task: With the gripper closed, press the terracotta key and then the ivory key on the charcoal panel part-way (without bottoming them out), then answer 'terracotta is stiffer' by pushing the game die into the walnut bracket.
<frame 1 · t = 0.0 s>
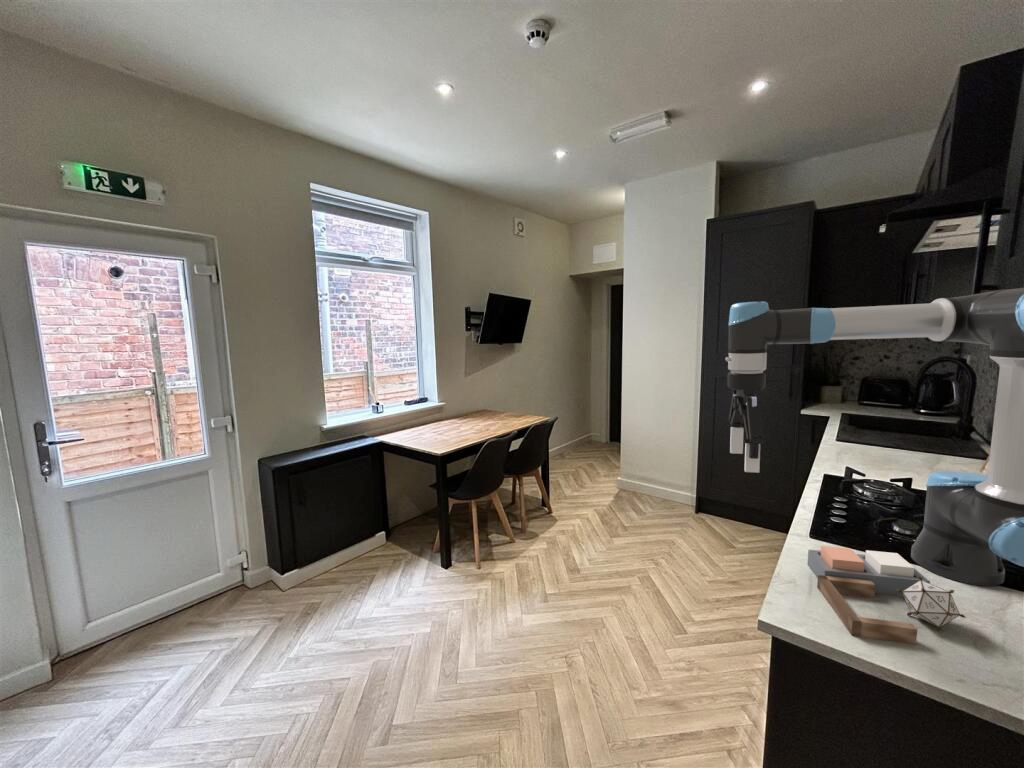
hand: (743, 461, 95), 28 cm above the countertop, fingers open, 13 cm apart
game die: (928, 622, 81), on the countertop
key panel: (863, 580, 94), on the countertop
walnut bracket: (861, 612, 84), on the countertop
ivory key: (888, 564, 92), point 4 cm above the countertop, slide at 0.3 cm
terracotta key: (841, 559, 95), point 5 cm above the countertop, slide at 0.2 cm
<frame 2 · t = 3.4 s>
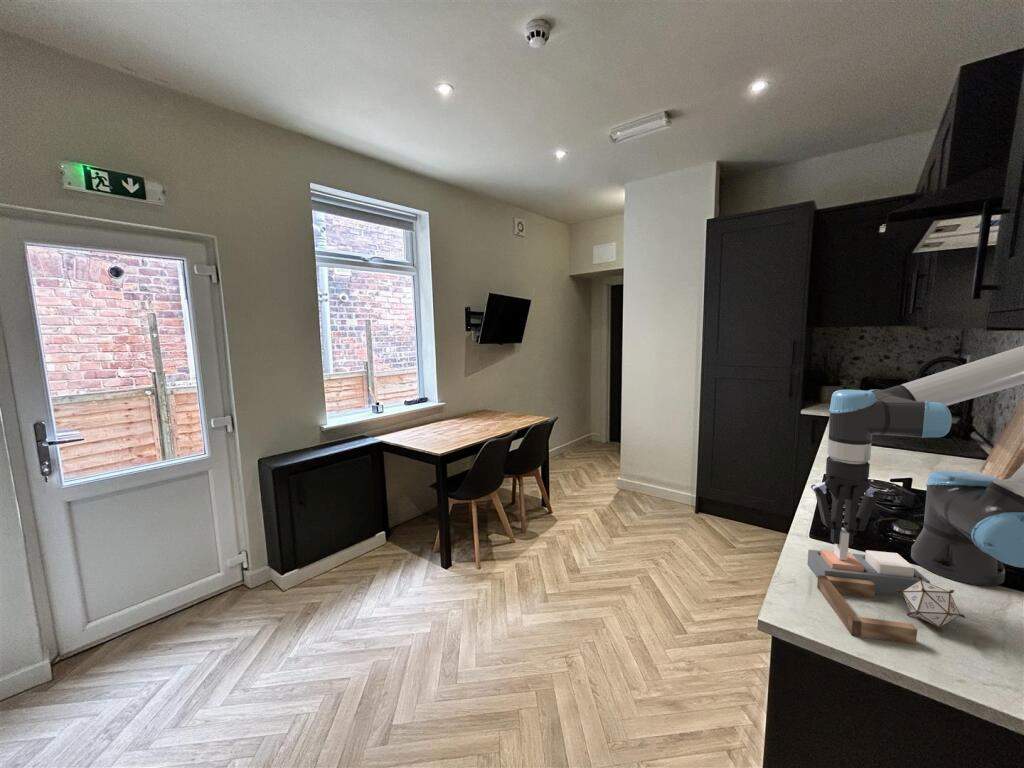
hand: (840, 556, 95), 5 cm above the countertop, fingers closed
terracotta key: (841, 563, 95), point 4 cm above the countertop, slide at 1.1 cm, touching gripper
everything else where it was.
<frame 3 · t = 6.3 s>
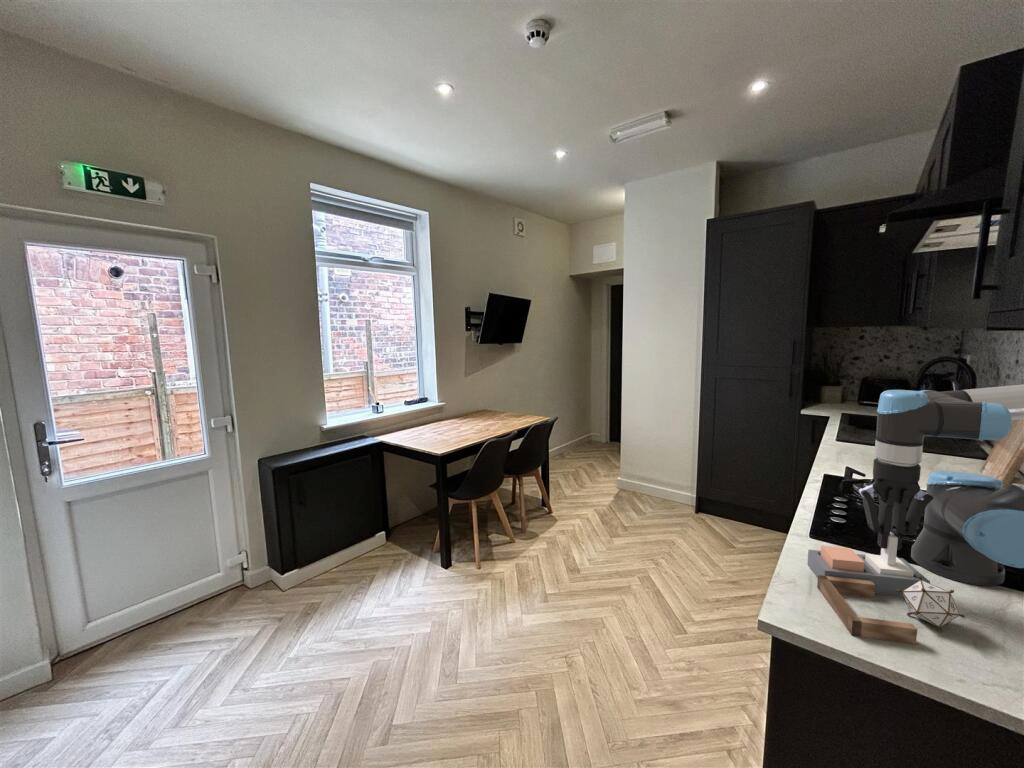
hand: (887, 561, 92), 5 cm above the countertop, fingers closed
ivory key: (888, 568, 92), point 3 cm above the countertop, slide at 1.2 cm, touching gripper
terracotta key: (841, 559, 95), point 5 cm above the countertop, slide at 0.1 cm
everything else where it was.
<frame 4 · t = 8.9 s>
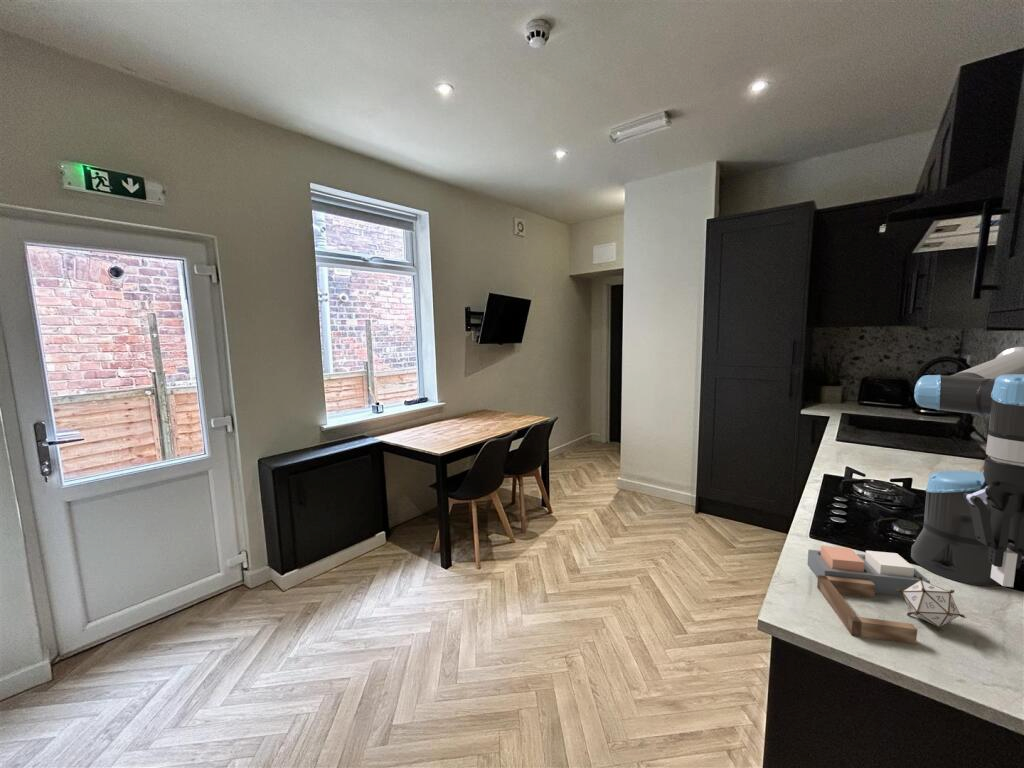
hand: (1001, 582, 76), 10 cm above the countertop, fingers closed
ivory key: (888, 565, 92), point 4 cm above the countertop, slide at 0.3 cm
everything else where it was.
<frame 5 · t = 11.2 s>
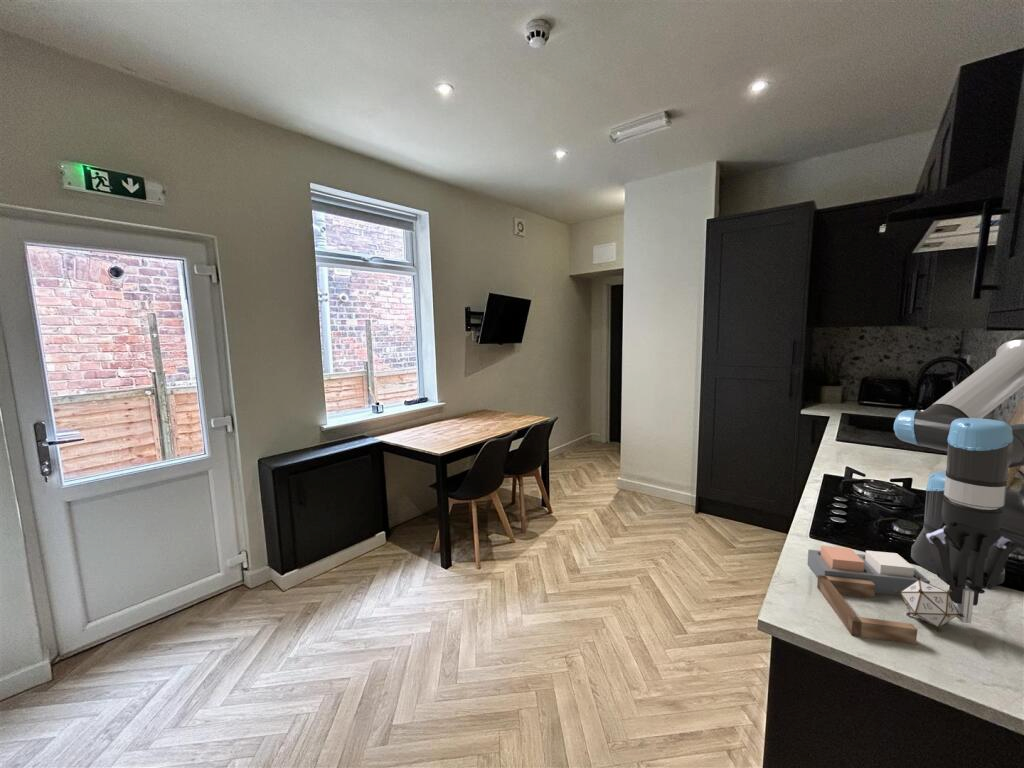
hand: (961, 618, 79), 2 cm above the countertop, fingers closed
game die: (927, 621, 81), on the countertop, touching gripper
everything else where it was.
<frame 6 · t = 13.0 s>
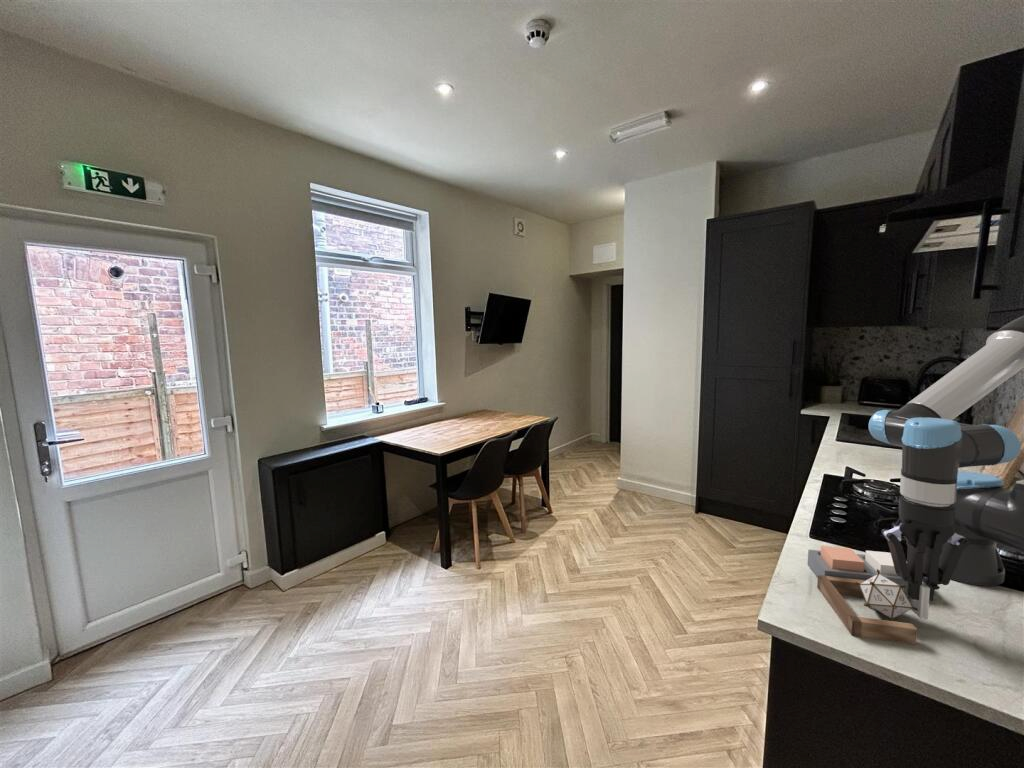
hand: (919, 614, 80), 2 cm above the countertop, fingers closed
game die: (886, 614, 83), on the countertop, touching gripper
everything else where it was.
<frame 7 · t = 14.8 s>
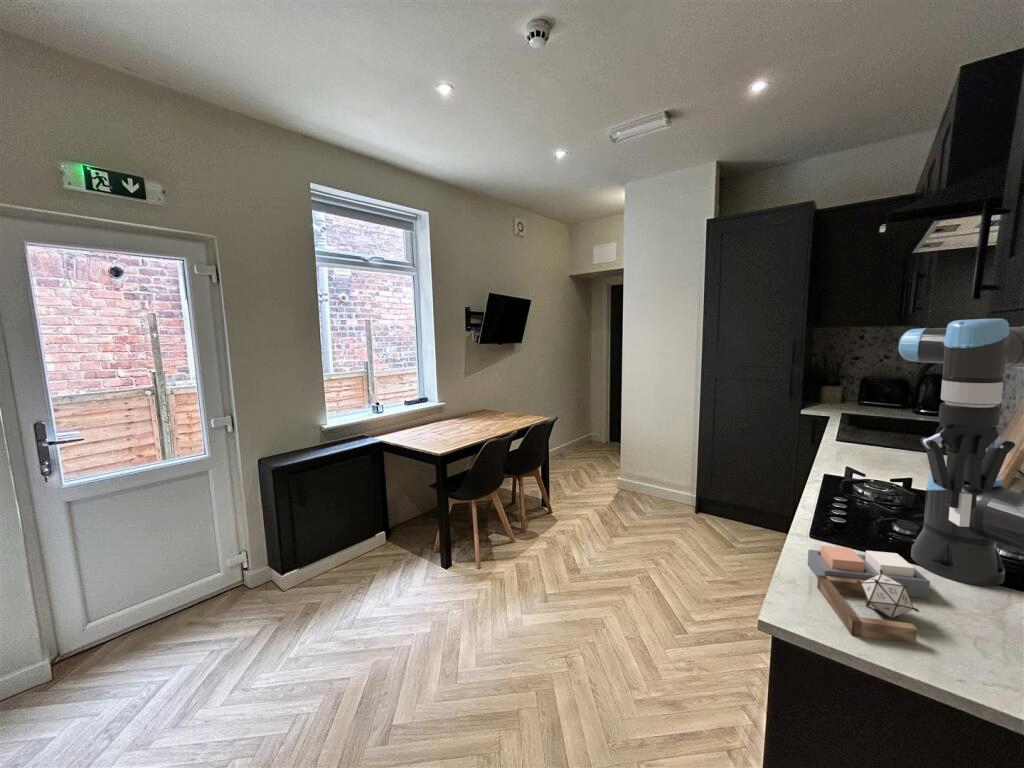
hand: (958, 523, 78), 20 cm above the countertop, fingers closed
game die: (884, 614, 83), on the countertop
everything else where it was.
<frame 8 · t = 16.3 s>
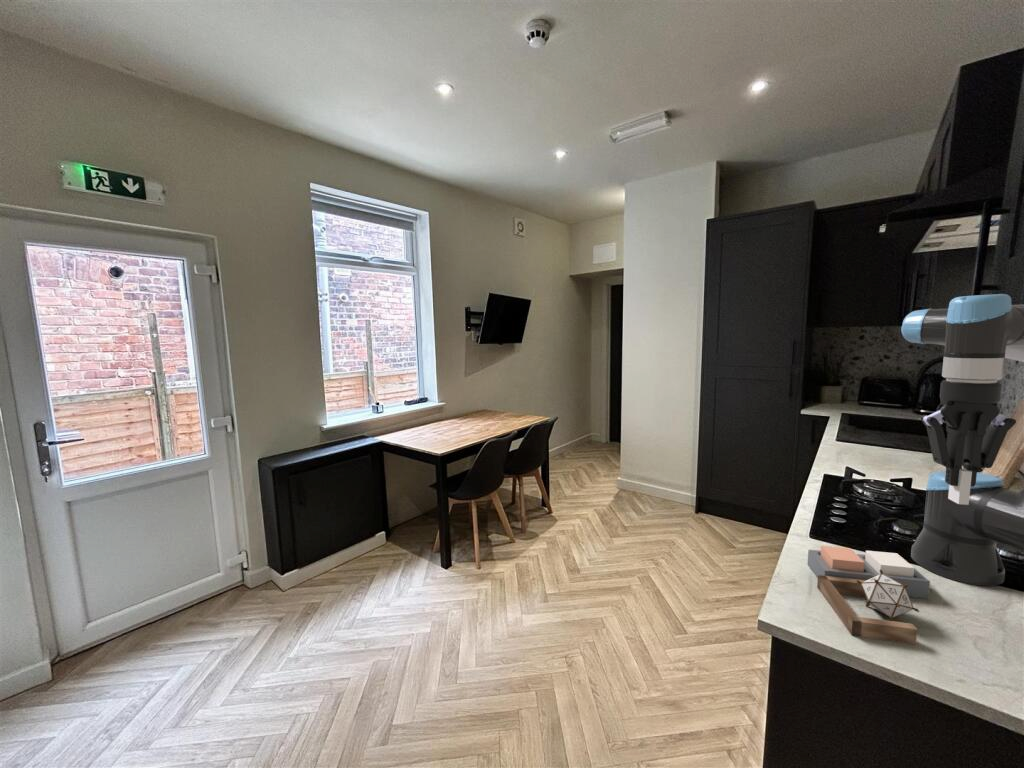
hand: (958, 501, 78), 24 cm above the countertop, fingers closed
nothing on the countertop moved.
at the end: game die inside the target area on the walnut bracket (1.7 cm from its centre), point 0.0 cm above the walnut bracket's base; terracotta key slide at 0.1 cm; ivory key slide at 0.3 cm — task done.
